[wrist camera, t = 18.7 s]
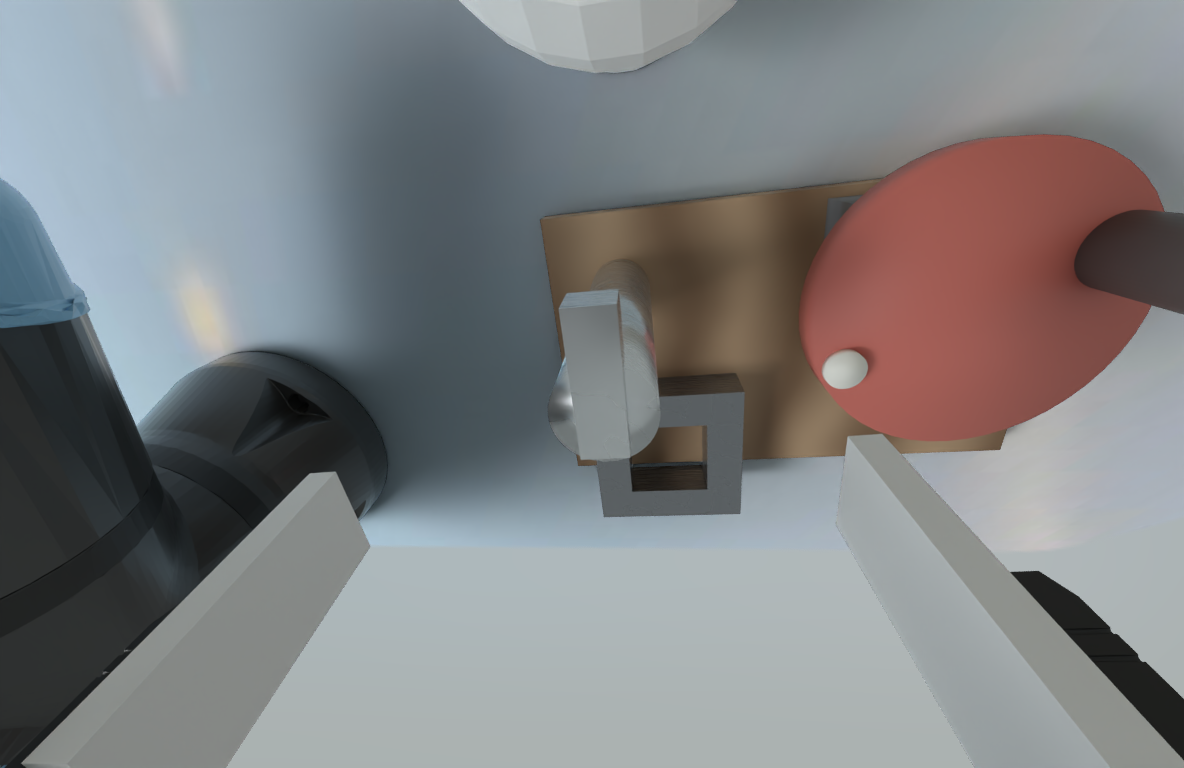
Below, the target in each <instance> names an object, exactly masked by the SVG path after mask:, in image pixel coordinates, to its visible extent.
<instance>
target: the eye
mask: <svg viewBox="0 0 1184 768" xmlns="http://www.w3.org/2000/svg"><path fill="white" fill-rule="evenodd" d="M658 390H659V402H660V423H659V427H658V428H662V427H682V426H702V465H687V466H660V467H633V464H632V456H631V457H630V458H626V459H623V460H618V461H609V462H606V461H596V462H597V469H598V477H599V484H600V492H601V499H602V507H603V514H604V517H625V516H669V515H713V514H740V508H741V480H742V452H743V425H744V397H745V392H744V389H743V387H742V385H741V383H740V381H739V378H738V376H737V374H736V373H723V374H707V375H691V376H675V377H659V378H658Z"/></svg>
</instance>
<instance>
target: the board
mask: <svg viewBox="0 0 1184 768" xmlns="http://www.w3.org/2000/svg"><path fill="white" fill-rule="evenodd" d="M882 179H884V178H882ZM882 179H874V180H865V181H856V182H847V183H838V184H829V185H820V186H811V187H803V188H794V189H785V190H776V191H767V192H758V193H749V194H741V195H732V196H723V197H714V198H705V199H696V200H687V201H678V202H670V203H661V204H652V205H643V206H634V207H625V208H616V209H607V210H599V211H590V212H581V213H572V214H563V215H554V216H545V217H544V218H542V219H541V220H540V223H541V229H542V236H543V242H544V249H545V255H546V261H547V268H548V274H549V281H550V287H551V294H552V300H553V307H554V313H555V319H556V326H557V332H558V339H559V345H560V352H561V358H562V363H563V361H564V358H565V350H564V343H563V336H562V329H561V323H560V316H559V307H560V305H561V303H562V301H563V299H564V297H565V296H566V294H567V293H575V292H587V291H589V290H590V288H591V285H592V282H593V280H594V277H595V275H596V273H597V272H598V270H599V269H600V268H601V267H602V266H603V265H605V264H606V263H608V262H610V261H613V260H618V259H624V260H629V261H632V262H634V263H636V264H638V265H639V266H640V267H641V268H642V269H643V270H644V271H645V273H646V275H647V277H648V279H649V284H650V295H651V307H652V319H653V331H654V343H655V354H656V366H657V378H659V377H675V376H691V375H707V374H723V373H736V374H737V376H738V378H739V381H740V383H741V385H742V387H743V389H744V392H745V397H744V425H743V452H742V460H747V459H773V458H799V457H825V456H845V453H846V445H847V438H848V436H859V435H873V434H883V435H884V436H885V437H886V439H887V440H888V441H889V442H890V443H891V444H892V445H893V446H894V447H895V448H896V449H897V450H898V452H899V453H900V454H904V453H930V452H957V451H983V450H1000V449H1001V446H1002V443H1003V440H1004V436H1005V433H1006V430H1007V429H1004V430H1001V431H997V432H994V433H991V434H987V435H983V436H978V437H973V438H968V439H961V440H952V441H919V440H909V439H904V438H899V437H894V436H891V435H888V434H885V433H882V432H879V431H876V430H874V429H872V428H870V427H868V426H866V425H864V424H862V423H860V422H859V421H858V420H856V419H855V418H853V417H852V416H850V415H849V414H848V413H847V412H846V411H845V410H844V409H843V408H842V407H840V406H839V405H838V404H837V403H836V401H835V400H834V399H833V398H832V396H831V395H830V394H829V393H828V391H827V390H826V389H825V388H824V386H823V385H822V384H821V383H820V381H819V380H818V379H817V377H816V376H815V375H814V373H813V372H812V370H811V368H810V366H809V364H808V362H807V360H806V357H805V354H804V351H803V348H802V345H801V339H800V333H799V307H800V299H801V294H802V290H803V286H804V282H805V279H806V276H807V273H808V271H809V269H810V266H811V264H812V261H813V259H814V257H815V255H816V253H817V252H818V250H819V248H820V246H821V244H822V243H823V241H824V239H825V238H826V237H827V235H828V234H829V232H830V231H831V229H832V228H833V227H834V225H835V224H836V223H837V221H838V220H839V219H840V218H841V217H842V216H843V215H844V213H845V212H846V211H847V210H848V209H849V208H850V207H851V206H852V205H853V204H854V203H855V202H856V201H857V200H858V199H859V198H860V197H861V196H862V195H863V194H865V193H866V192H867V191H868V190H869V189H870V188H872V187H873V186H874V185H876V184H877V183H878V182H880V181H881V180H882ZM576 455H577V454H576ZM577 461H578V466H589V465H597V462H596V461H595V460H590V459H588V460H581V459H580V456H579V455H577ZM694 461H702V426H682V427H662V428H658V430H657V432H656V434H655V436H654V438H653V439H652V441H651V442H650V443H649V444H648V445H647V446H646V447H645V448H644V449H643V450H642V451H640V452H639V453H637V454H635V455H633V456H632V464H642V463H668V462H694Z"/></svg>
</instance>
